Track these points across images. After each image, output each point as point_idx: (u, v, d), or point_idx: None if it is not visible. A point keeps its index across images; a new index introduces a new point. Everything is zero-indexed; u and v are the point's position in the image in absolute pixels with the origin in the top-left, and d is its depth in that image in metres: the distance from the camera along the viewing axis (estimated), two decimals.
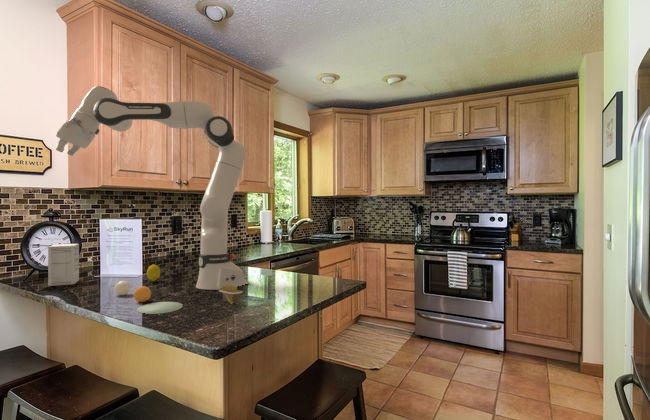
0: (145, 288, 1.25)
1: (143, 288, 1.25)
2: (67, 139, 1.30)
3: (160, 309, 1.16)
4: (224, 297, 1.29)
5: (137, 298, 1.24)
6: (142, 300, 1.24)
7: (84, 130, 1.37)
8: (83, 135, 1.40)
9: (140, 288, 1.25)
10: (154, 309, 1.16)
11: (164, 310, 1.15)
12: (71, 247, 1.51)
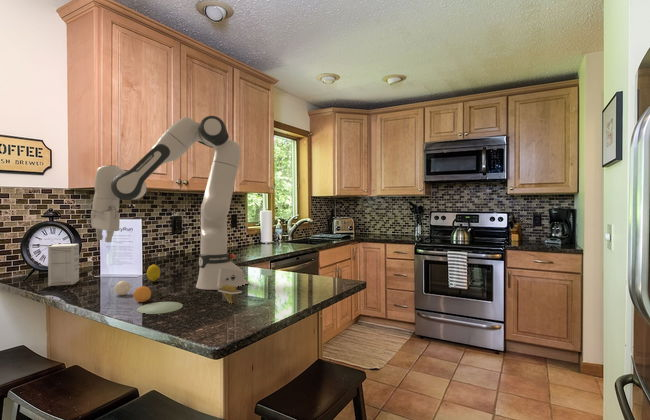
0: (145, 288, 1.25)
1: (143, 288, 1.25)
2: None
3: (160, 309, 1.16)
4: (223, 297, 1.29)
5: (137, 298, 1.24)
6: (142, 300, 1.24)
7: None
8: None
9: (140, 288, 1.25)
10: (154, 309, 1.16)
11: (164, 310, 1.15)
12: (71, 247, 1.51)
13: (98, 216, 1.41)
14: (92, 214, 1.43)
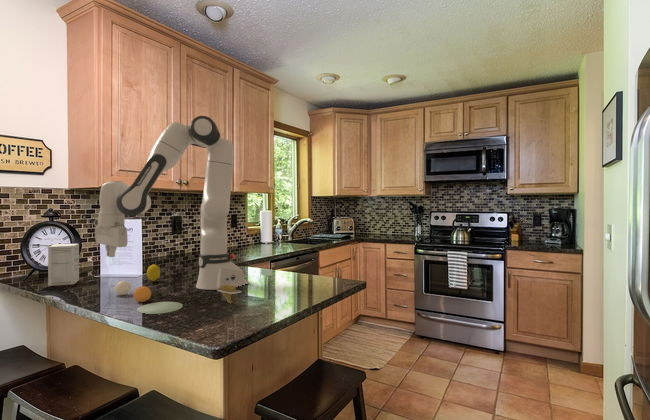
0: (145, 288, 1.25)
1: (143, 288, 1.25)
2: None
3: (160, 309, 1.16)
4: (223, 297, 1.29)
5: (137, 298, 1.24)
6: (142, 300, 1.24)
7: None
8: None
9: (140, 288, 1.25)
10: (154, 309, 1.16)
11: (164, 310, 1.15)
12: (71, 247, 1.51)
13: (104, 232, 1.41)
14: (96, 230, 1.43)
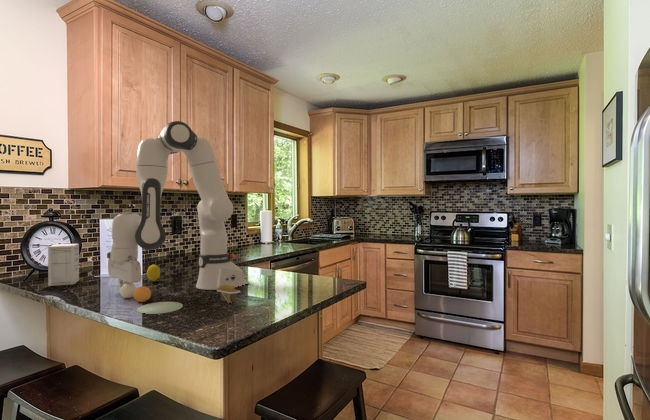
0: (145, 288, 1.25)
1: (143, 288, 1.25)
2: None
3: (160, 309, 1.16)
4: (222, 297, 1.29)
5: (137, 298, 1.24)
6: (142, 300, 1.24)
7: None
8: None
9: (140, 288, 1.25)
10: (154, 309, 1.16)
11: (164, 310, 1.15)
12: (71, 247, 1.51)
13: (117, 265, 1.35)
14: (109, 263, 1.38)
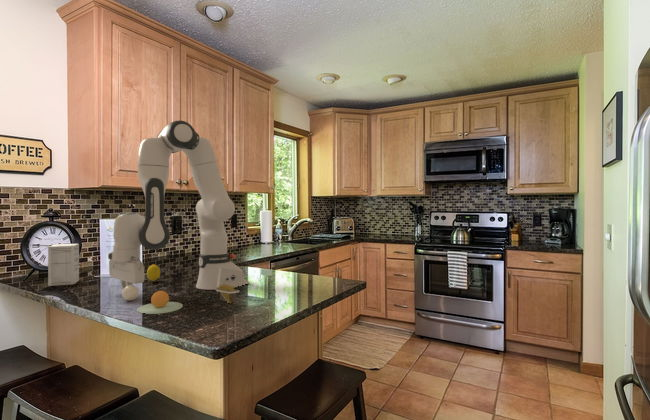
0: None
1: None
2: None
3: (160, 309, 1.16)
4: (221, 296, 1.29)
5: (153, 296, 1.18)
6: (158, 292, 1.19)
7: None
8: None
9: None
10: (154, 309, 1.16)
11: (164, 310, 1.15)
12: (71, 247, 1.51)
13: (118, 266, 1.34)
14: (111, 264, 1.36)
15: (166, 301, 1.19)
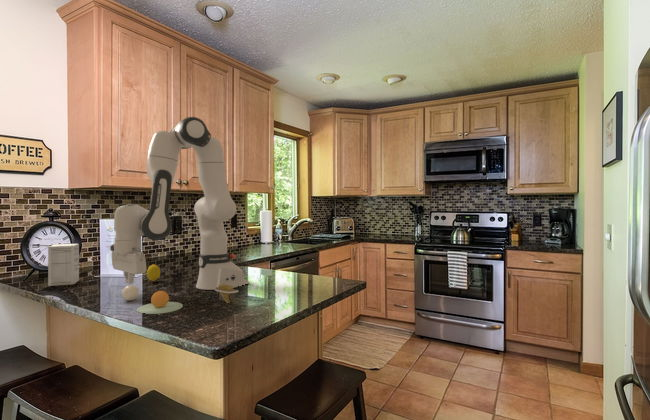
0: None
1: None
2: None
3: (160, 309, 1.16)
4: (220, 296, 1.30)
5: (153, 296, 1.18)
6: (158, 292, 1.19)
7: None
8: None
9: None
10: (154, 309, 1.16)
11: (164, 310, 1.15)
12: (71, 247, 1.51)
13: (121, 258, 1.34)
14: (113, 255, 1.37)
15: (166, 301, 1.19)
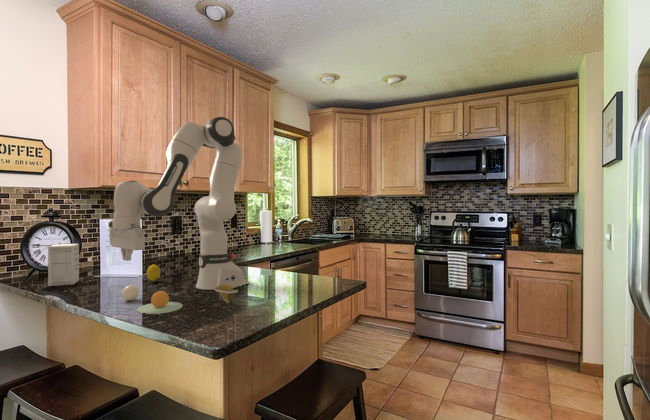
0: None
1: None
2: None
3: (160, 309, 1.16)
4: (220, 296, 1.30)
5: (153, 296, 1.18)
6: (158, 292, 1.19)
7: None
8: None
9: None
10: (154, 309, 1.16)
11: (164, 310, 1.15)
12: (71, 247, 1.51)
13: (119, 234, 1.33)
14: (111, 232, 1.36)
15: (166, 301, 1.19)
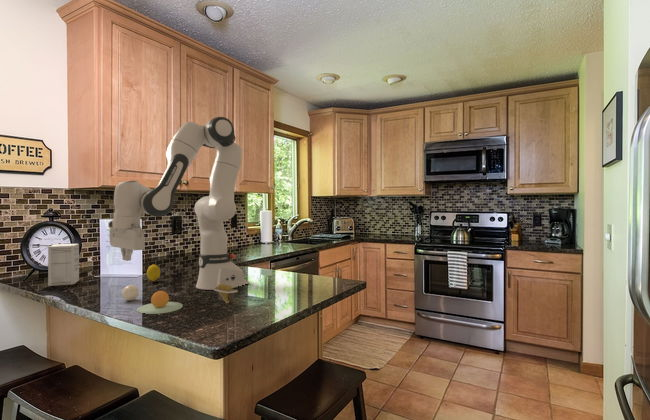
0: None
1: None
2: None
3: (160, 309, 1.16)
4: (220, 296, 1.30)
5: (153, 296, 1.18)
6: (158, 292, 1.19)
7: None
8: None
9: None
10: (154, 309, 1.16)
11: (164, 310, 1.15)
12: (71, 247, 1.51)
13: (119, 234, 1.33)
14: (111, 232, 1.36)
15: (166, 301, 1.19)
